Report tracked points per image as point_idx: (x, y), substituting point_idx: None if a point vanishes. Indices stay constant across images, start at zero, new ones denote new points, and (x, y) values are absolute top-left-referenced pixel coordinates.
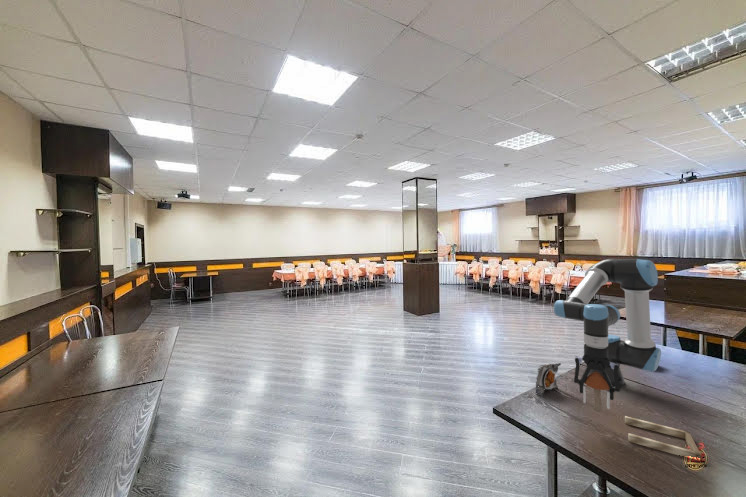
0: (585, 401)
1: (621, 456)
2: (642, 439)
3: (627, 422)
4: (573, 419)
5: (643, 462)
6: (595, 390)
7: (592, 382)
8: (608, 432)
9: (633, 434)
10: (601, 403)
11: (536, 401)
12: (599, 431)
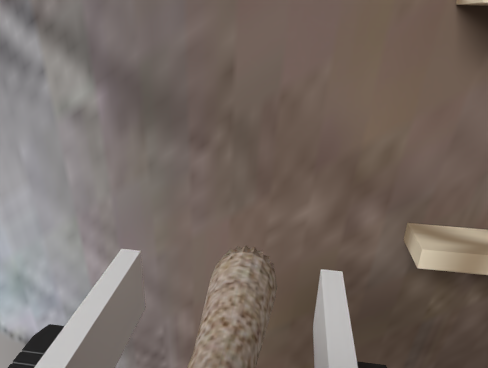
0: (138, 318)
1: None
2: (486, 271)
3: (481, 4)
4: (132, 126)
5: (420, 362)
6: None
7: None
8: (317, 179)
9: (449, 251)
10: (268, 321)
11: None
12: (269, 194)
